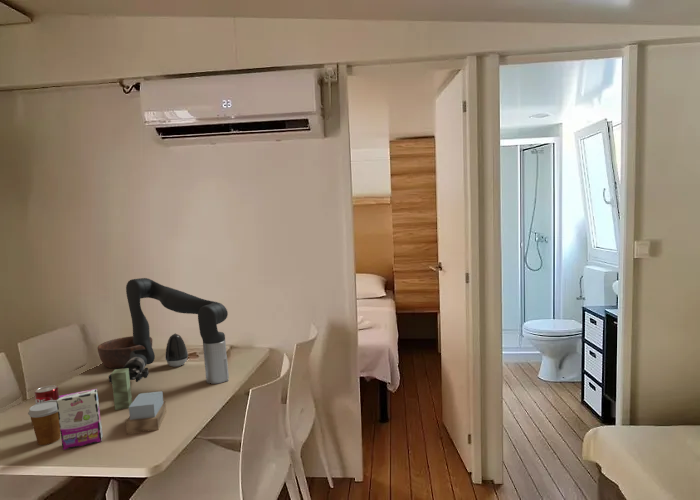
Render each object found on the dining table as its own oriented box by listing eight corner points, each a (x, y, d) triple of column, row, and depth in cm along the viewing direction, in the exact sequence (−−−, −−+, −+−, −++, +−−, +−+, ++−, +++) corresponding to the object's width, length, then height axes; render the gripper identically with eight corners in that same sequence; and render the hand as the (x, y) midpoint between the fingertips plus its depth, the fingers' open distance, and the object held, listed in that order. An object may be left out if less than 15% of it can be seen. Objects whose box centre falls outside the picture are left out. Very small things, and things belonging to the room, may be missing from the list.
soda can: (50, 425, 170) (46, 392, 169) (33, 424, 172) (29, 392, 170) (66, 416, 177) (62, 385, 176) (49, 415, 179) (45, 384, 178)
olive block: (132, 403, 186) (128, 367, 185) (129, 408, 182) (125, 372, 180) (118, 404, 185) (114, 369, 184) (114, 410, 180) (111, 373, 179)
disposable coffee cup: (35, 438, 161) (30, 403, 160) (67, 431, 164) (63, 397, 163) (28, 450, 152) (24, 414, 151) (63, 443, 156) (59, 407, 155)
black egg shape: (188, 360, 238) (185, 330, 236) (188, 366, 228) (185, 335, 226) (166, 363, 234) (163, 333, 233) (165, 369, 225) (162, 338, 223)
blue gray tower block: (163, 403, 174) (162, 391, 173) (154, 417, 162) (153, 404, 161) (140, 405, 173) (139, 393, 172) (130, 419, 161) (128, 407, 160)
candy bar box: (103, 435, 159) (97, 387, 158) (101, 442, 155) (96, 392, 153) (64, 444, 155) (58, 394, 154) (62, 450, 150) (56, 400, 149)
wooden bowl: (164, 357, 245) (162, 338, 244) (118, 373, 224) (116, 352, 223) (135, 352, 258) (133, 333, 257) (89, 366, 237) (86, 346, 236)
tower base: (166, 413, 176) (165, 401, 176) (158, 431, 161) (157, 418, 161) (137, 416, 174) (136, 404, 174) (126, 435, 159) (125, 422, 159)
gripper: (115, 361, 202) (104, 374, 186) (151, 357, 205) (143, 369, 189) (117, 378, 203) (106, 392, 187) (152, 374, 206) (145, 387, 190)
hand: (125, 380), depth 188 cm, fingers open, 8 cm apart
